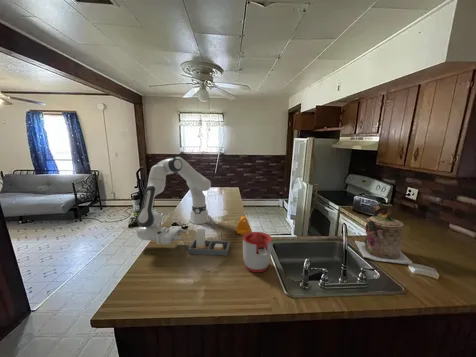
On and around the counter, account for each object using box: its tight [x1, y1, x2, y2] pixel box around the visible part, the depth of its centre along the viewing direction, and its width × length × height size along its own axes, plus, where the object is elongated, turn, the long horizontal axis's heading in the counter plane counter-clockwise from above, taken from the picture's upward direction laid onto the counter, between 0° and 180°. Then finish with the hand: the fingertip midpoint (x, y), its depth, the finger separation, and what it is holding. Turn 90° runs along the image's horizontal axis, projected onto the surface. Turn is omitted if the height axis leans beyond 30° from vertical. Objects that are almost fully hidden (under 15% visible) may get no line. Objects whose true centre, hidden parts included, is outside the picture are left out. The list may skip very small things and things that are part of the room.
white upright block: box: [195, 228, 207, 249], centre depth 135 cm, size 6×6×12 cm
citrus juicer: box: [242, 231, 273, 273], centre depth 114 cm, size 16×17×20 cm
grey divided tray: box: [187, 239, 231, 257], centre depth 135 cm, size 13×24×3 cm, turn 85°
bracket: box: [235, 215, 253, 236], centre depth 161 cm, size 11×7×12 cm, turn 98°
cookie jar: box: [354, 203, 414, 266], centre depth 130 cm, size 25×25×32 cm
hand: (183, 234), depth 135 cm, fingers open, 8 cm apart
